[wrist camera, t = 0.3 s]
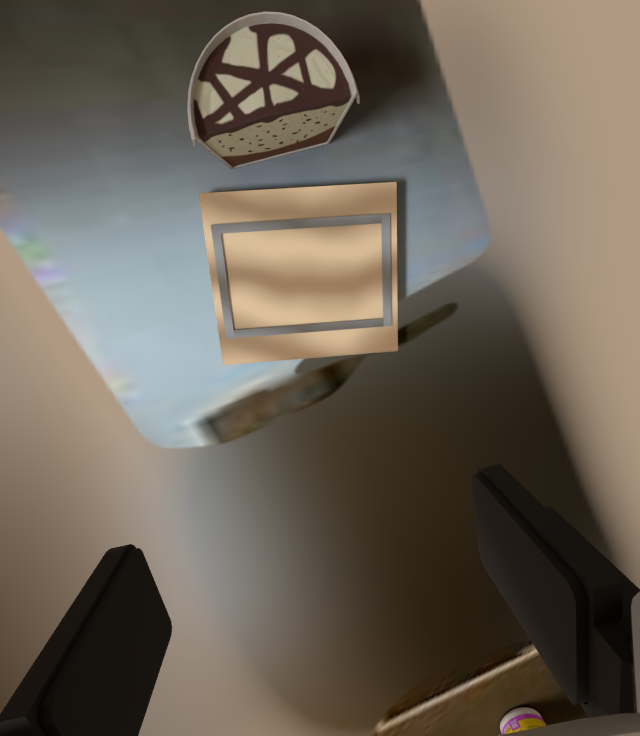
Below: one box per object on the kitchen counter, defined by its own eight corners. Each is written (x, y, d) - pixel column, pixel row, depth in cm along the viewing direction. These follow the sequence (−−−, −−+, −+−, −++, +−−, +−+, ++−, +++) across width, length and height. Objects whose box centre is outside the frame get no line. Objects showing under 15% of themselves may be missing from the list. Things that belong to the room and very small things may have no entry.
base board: (202, 196, 35) (198, 192, 33) (392, 185, 35) (397, 181, 34) (225, 361, 39) (222, 365, 37) (394, 347, 40) (398, 351, 38)
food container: (329, 62, 32) (344, -23, 23) (344, 139, 34) (365, 90, 24) (193, 98, 32) (151, 27, 23) (215, 173, 34) (185, 137, 24)
